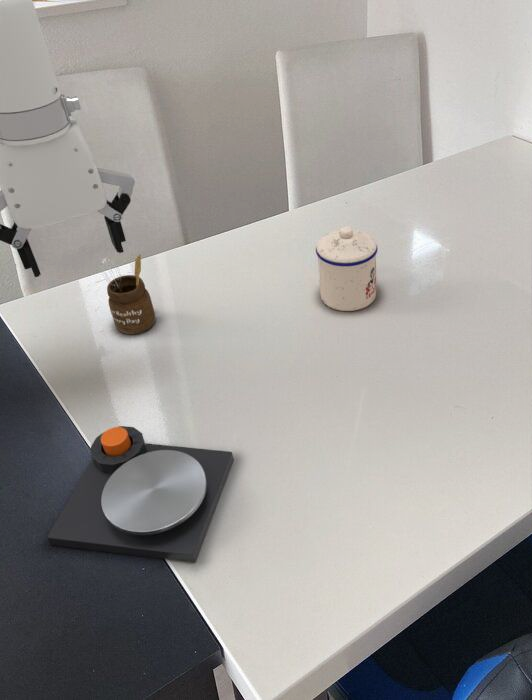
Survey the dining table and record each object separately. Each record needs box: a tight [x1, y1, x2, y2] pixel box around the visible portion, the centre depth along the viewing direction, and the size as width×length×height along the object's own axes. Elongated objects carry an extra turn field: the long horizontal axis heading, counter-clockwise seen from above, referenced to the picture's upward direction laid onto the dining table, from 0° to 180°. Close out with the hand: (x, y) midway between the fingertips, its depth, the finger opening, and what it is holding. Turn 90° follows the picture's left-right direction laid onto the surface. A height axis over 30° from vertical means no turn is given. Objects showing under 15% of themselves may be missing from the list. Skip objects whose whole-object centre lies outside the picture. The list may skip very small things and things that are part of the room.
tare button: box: [101, 426, 131, 456], centre depth 78 cm, size 3×3×2 cm
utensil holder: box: [99, 252, 156, 335], centre depth 98 cm, size 6×6×12 cm
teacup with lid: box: [315, 226, 378, 312], centre depth 103 cm, size 12×9×12 cm
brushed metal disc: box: [101, 450, 207, 535], centre depth 73 cm, size 11×11×1 cm
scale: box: [46, 425, 235, 563], centre depth 75 cm, size 16×15×3 cm
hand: (78, 259), depth 81 cm, fingers open, 9 cm apart
